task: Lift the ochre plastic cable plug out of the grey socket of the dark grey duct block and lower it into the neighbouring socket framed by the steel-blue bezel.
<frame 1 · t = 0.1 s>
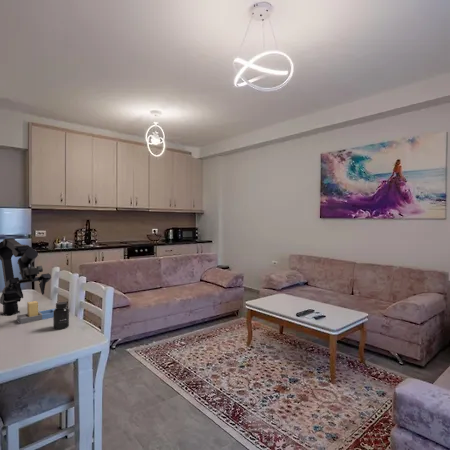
hand: (33, 296, 153), 15 cm above the table, tool tilted 35°, fingers open, 9 cm apart
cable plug: (32, 319, 164), resting in duct block
duct block: (40, 317, 166), on the table
supplement bottle: (61, 327, 152), on the table
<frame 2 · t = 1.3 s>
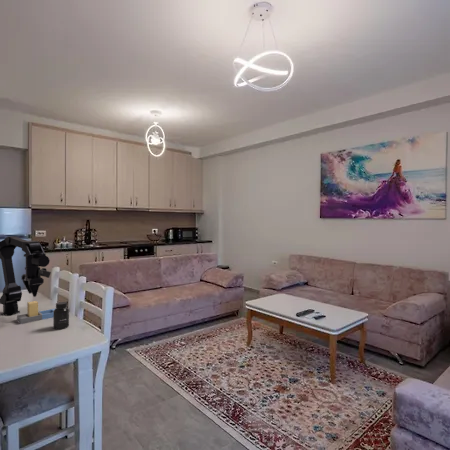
hand: (32, 295, 163), 13 cm above the table, tool pointing down, fingers open, 9 cm apart
nothing on the table moved.
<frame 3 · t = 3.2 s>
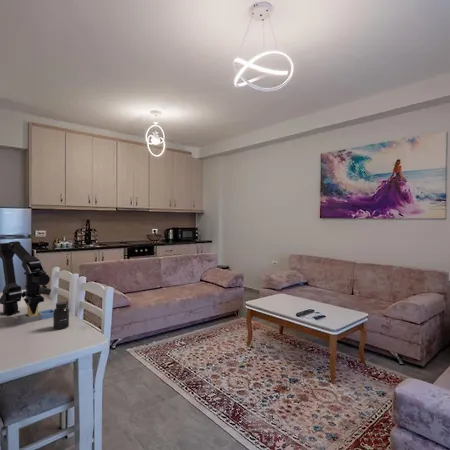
hand: (32, 312, 163), 3 cm above the table, tool pointing down, fingers closed on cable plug, 4 cm apart
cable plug: (32, 319, 164), resting in duct block, touching gripper
everything else where it was.
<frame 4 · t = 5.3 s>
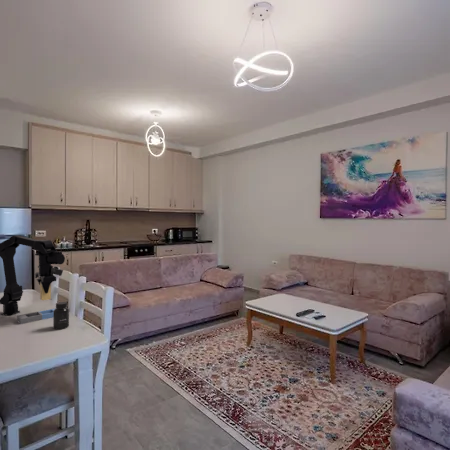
hand: (45, 292, 167), 13 cm above the table, tool pointing down, fingers closed on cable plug, 4 cm apart
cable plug: (45, 299, 167), point 10 cm above the table, touching gripper
everything else where it was.
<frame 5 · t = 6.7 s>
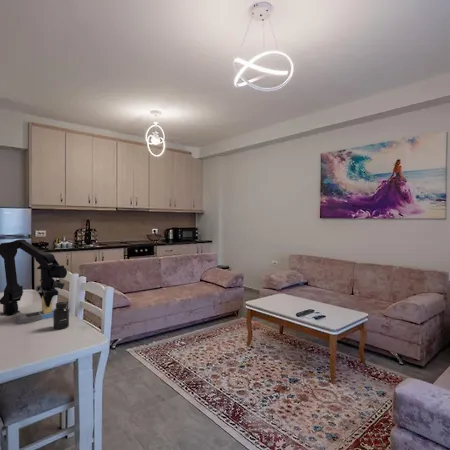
hand: (47, 306, 168), 6 cm above the table, tool pointing down, fingers closed on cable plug, 4 cm apart
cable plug: (47, 312, 168), point 2 cm above the table, touching gripper
everything else where it was.
when the fingers open (5 cm above the table, at t = 7.6 s): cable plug drops 1 cm, resting in duct block.
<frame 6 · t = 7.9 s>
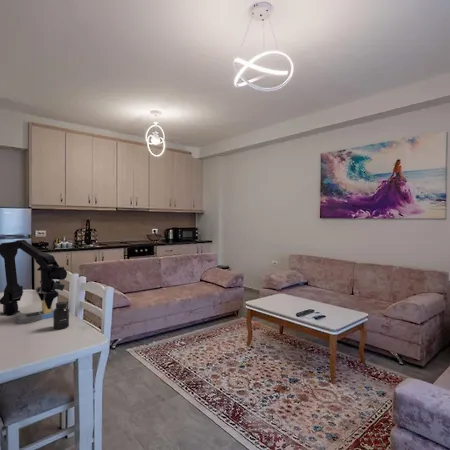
hand: (47, 307, 168), 5 cm above the table, tool pointing down, fingers open, 7 cm apart
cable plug: (47, 316, 168), resting in duct block
everything else where it was.
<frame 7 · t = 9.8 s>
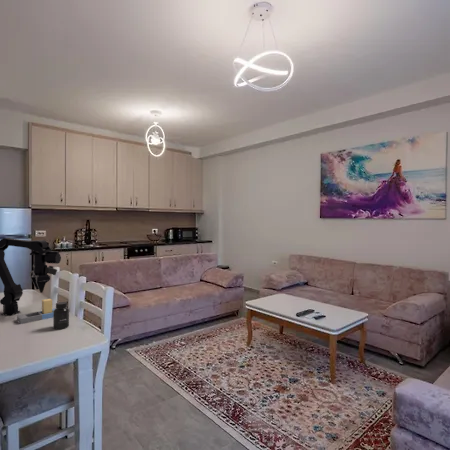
hand: (39, 291, 173), 13 cm above the table, tool pointing down, fingers open, 9 cm apart
nothing on the table moved.
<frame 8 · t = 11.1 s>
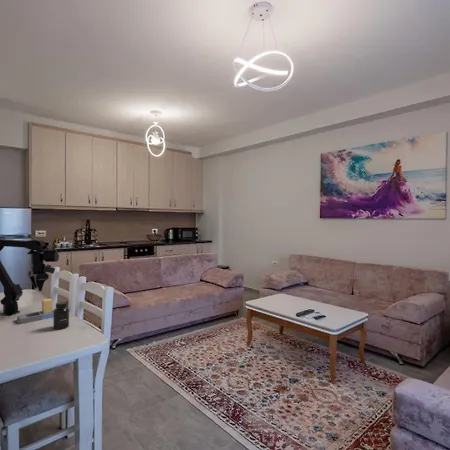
hand: (38, 289, 174), 13 cm above the table, tool pointing down, fingers open, 9 cm apart
nothing on the table moved.
at the end: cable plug 0.0 cm from the target spot on the duct block, point 0.0 cm above the duct block's base; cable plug tilted 0°; the gripper is holding nothing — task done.
